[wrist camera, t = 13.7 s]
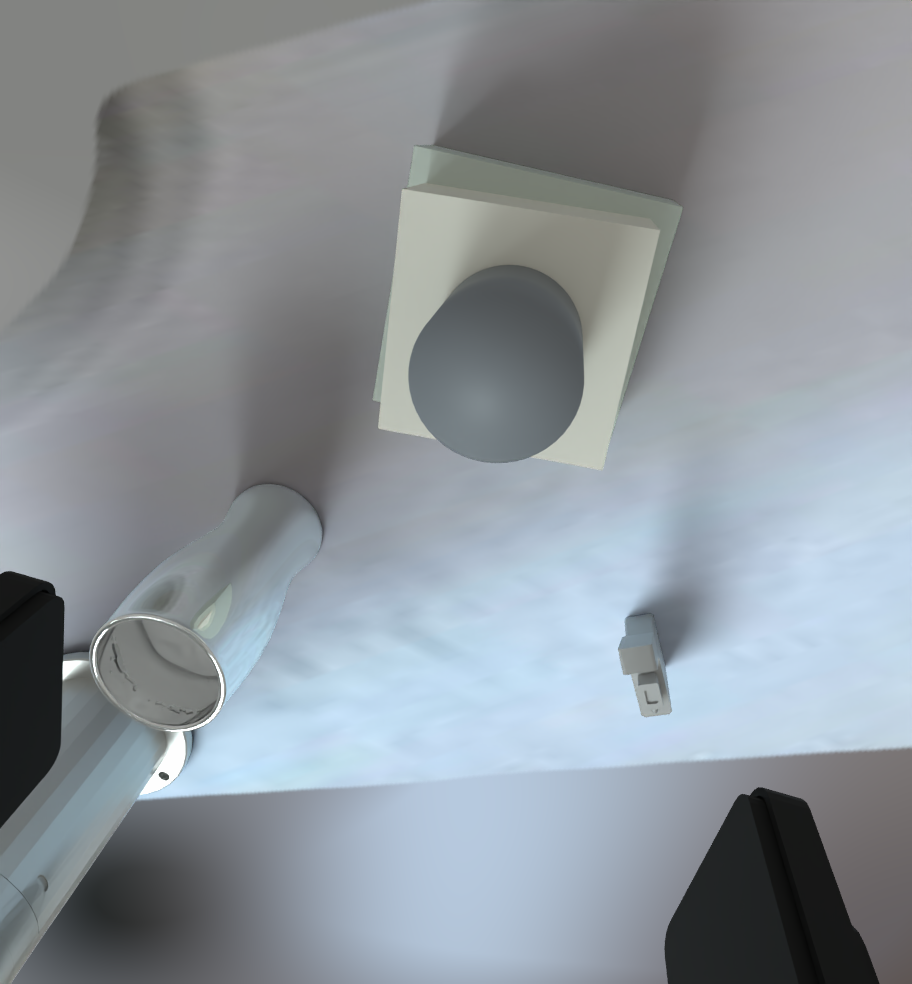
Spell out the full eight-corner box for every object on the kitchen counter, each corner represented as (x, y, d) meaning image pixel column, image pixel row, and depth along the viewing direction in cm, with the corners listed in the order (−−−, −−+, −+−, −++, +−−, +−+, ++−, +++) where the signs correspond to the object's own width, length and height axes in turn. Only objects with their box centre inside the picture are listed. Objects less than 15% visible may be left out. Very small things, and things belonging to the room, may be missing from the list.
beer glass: (206, 535, 50) (63, 683, 36) (253, 454, 47) (116, 582, 33) (298, 594, 50) (192, 760, 37) (350, 518, 47) (255, 668, 34)
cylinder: (568, 419, 33) (567, 475, 27) (429, 398, 33) (401, 449, 28) (595, 275, 30) (599, 305, 25) (444, 255, 31) (416, 279, 25)
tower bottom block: (602, 424, 43) (604, 457, 38) (394, 373, 44) (372, 400, 39) (671, 199, 38) (683, 207, 33) (434, 145, 38) (414, 145, 34)
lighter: (665, 668, 48) (679, 760, 41) (637, 672, 49) (646, 763, 42) (642, 571, 46) (652, 651, 39) (613, 576, 46) (618, 656, 39)
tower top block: (600, 431, 38) (602, 470, 33) (401, 395, 39) (377, 428, 34) (650, 218, 34) (660, 230, 29) (425, 182, 34) (402, 188, 30)
